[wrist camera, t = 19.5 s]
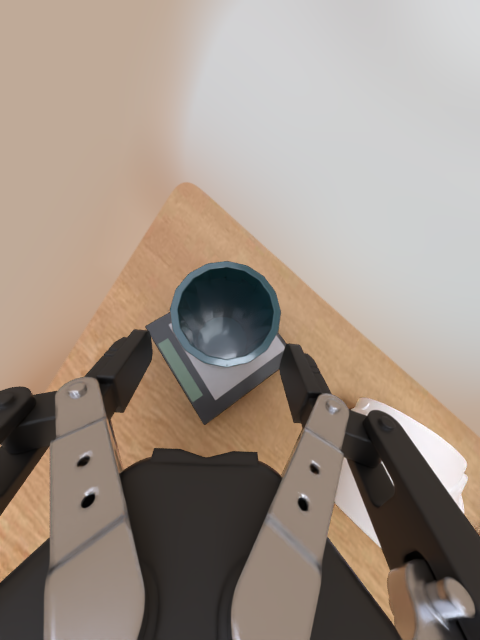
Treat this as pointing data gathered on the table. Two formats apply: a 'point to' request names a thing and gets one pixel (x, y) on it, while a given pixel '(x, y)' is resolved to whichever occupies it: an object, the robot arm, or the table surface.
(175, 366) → the scale
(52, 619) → the robot arm
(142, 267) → the table surface
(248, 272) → the cup
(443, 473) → the mug
